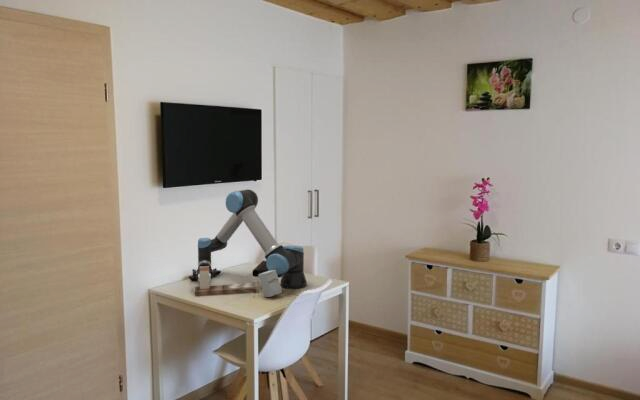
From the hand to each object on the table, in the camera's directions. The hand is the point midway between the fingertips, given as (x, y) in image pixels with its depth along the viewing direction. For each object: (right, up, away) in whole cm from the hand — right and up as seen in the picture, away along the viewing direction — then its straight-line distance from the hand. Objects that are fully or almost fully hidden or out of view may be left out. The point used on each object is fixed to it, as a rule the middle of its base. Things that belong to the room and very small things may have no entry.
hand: (204, 278), depth 272 cm
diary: (+31, -4, +53) cm, 61 cm away
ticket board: (+10, -9, +8) cm, 16 cm away
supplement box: (+37, -9, -1) cm, 38 cm away
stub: (-1, -6, +6) cm, 8 cm away
